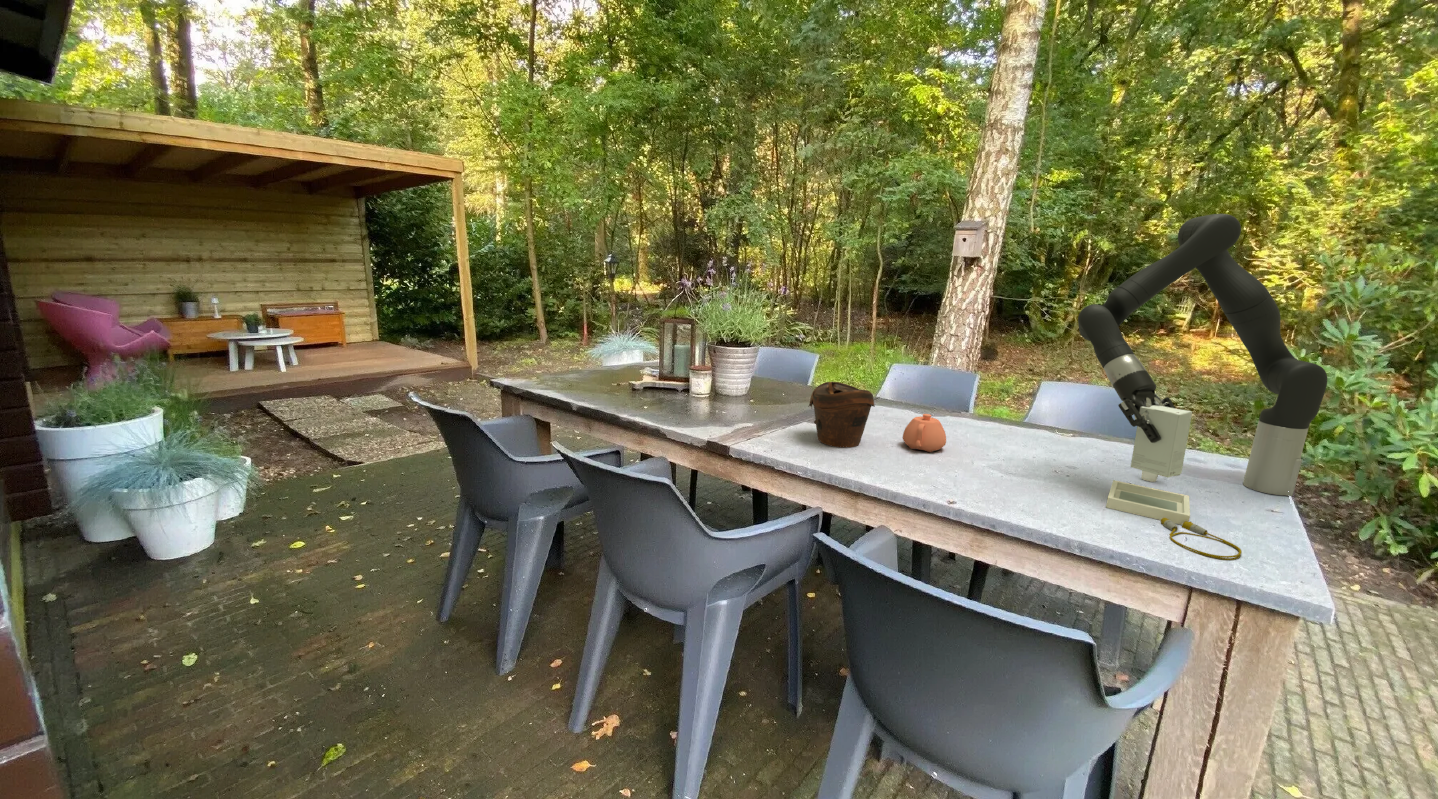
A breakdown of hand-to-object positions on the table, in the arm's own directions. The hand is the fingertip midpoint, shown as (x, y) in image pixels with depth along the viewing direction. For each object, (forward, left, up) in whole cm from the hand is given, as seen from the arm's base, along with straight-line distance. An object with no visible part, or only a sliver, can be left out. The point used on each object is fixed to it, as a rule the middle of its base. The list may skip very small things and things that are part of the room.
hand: (1168, 440), depth 134 cm
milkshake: (+1, -24, -17) cm, 29 cm away
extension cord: (-8, +14, -17) cm, 24 cm away
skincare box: (+1, -1, -8) cm, 8 cm away
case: (+78, +2, -17) cm, 80 cm away
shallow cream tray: (+1, -1, -17) cm, 17 cm away
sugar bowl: (+56, -9, -17) cm, 59 cm away
